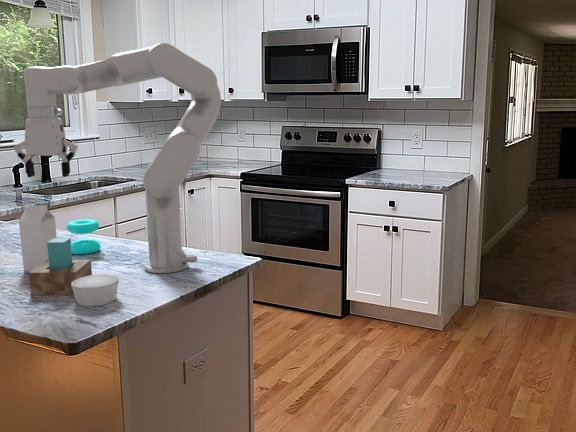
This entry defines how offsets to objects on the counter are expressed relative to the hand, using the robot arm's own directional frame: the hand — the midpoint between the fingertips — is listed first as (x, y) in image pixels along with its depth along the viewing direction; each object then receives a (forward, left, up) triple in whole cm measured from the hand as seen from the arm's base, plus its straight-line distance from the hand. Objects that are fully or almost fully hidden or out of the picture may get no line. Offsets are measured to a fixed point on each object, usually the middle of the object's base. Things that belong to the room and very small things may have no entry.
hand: (48, 176), depth 171 cm
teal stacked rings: (+1, -26, -29) cm, 39 cm away
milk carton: (+7, -6, -28) cm, 30 cm away
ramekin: (-18, +22, -29) cm, 41 cm away
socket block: (-6, +12, -28) cm, 31 cm away
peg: (-6, +12, -27) cm, 30 cm away
